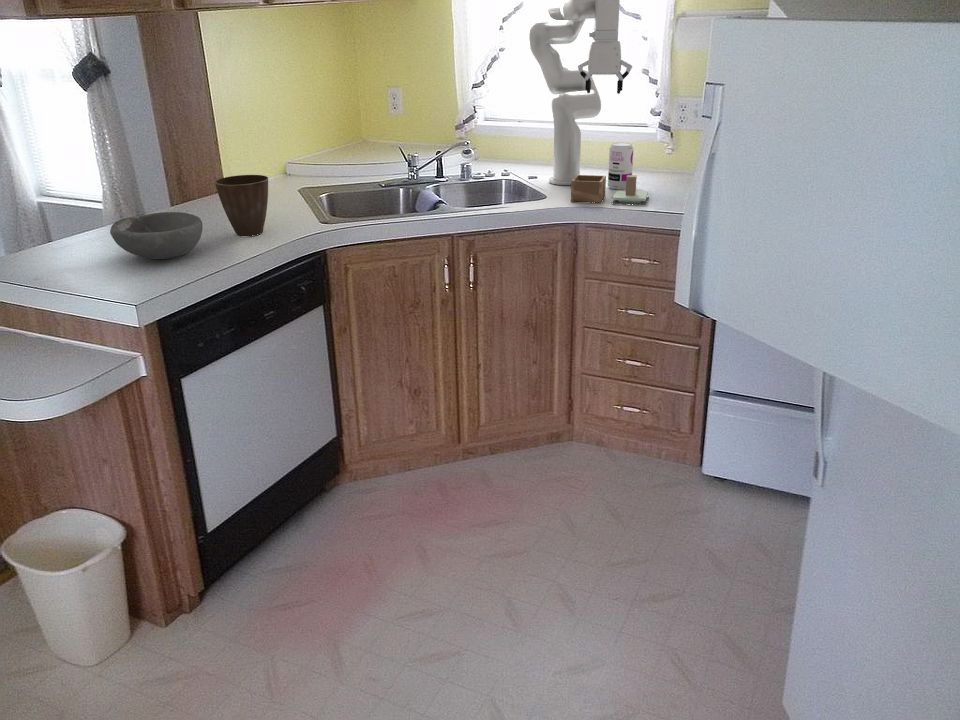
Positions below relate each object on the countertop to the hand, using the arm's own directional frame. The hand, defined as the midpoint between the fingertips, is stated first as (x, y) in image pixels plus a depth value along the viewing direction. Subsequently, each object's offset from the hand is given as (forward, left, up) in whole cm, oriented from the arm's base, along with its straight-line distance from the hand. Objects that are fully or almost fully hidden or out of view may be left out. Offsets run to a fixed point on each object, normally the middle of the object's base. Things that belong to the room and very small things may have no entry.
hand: (603, 93), depth 263 cm
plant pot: (+68, -94, -34) cm, 121 cm away
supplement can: (-14, +5, -34) cm, 37 cm away
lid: (+6, +11, -33) cm, 35 cm away
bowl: (+94, -105, -34) cm, 145 cm away
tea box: (+6, -3, -33) cm, 34 cm away
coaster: (+6, +11, -33) cm, 36 cm away
